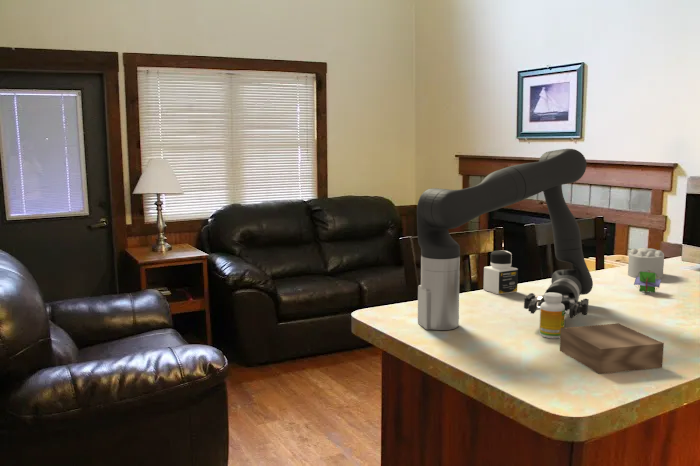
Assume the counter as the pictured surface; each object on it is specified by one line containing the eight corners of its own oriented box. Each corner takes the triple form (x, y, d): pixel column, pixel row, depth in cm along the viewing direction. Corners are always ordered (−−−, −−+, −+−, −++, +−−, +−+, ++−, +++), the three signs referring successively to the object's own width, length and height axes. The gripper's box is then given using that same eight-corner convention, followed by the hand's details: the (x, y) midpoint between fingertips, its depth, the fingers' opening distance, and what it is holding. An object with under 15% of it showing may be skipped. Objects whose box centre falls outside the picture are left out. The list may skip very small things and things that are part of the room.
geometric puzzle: (658, 290, 179) (661, 265, 182) (631, 287, 182) (635, 262, 185) (659, 301, 184) (662, 276, 187) (633, 298, 188) (637, 273, 191)
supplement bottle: (565, 339, 143) (567, 297, 142) (540, 338, 144) (542, 296, 143) (562, 332, 148) (564, 292, 147) (538, 331, 149) (539, 291, 148)
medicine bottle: (498, 295, 184) (499, 254, 182) (482, 289, 190) (483, 250, 188) (517, 292, 187) (519, 252, 185) (501, 287, 193) (502, 248, 192)
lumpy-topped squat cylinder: (663, 273, 211) (665, 247, 210) (661, 281, 200) (663, 254, 198) (629, 270, 216) (631, 245, 215) (625, 278, 205) (627, 251, 203)
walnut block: (599, 374, 122) (600, 349, 122) (559, 350, 136) (560, 328, 135) (662, 367, 125) (663, 343, 125) (617, 345, 139) (618, 323, 138)
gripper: (533, 278, 161) (520, 292, 147) (593, 283, 155) (585, 298, 140) (532, 307, 162) (519, 323, 148) (591, 313, 156) (583, 331, 142)
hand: (551, 311), depth 144 cm, fingers open, 8 cm apart
